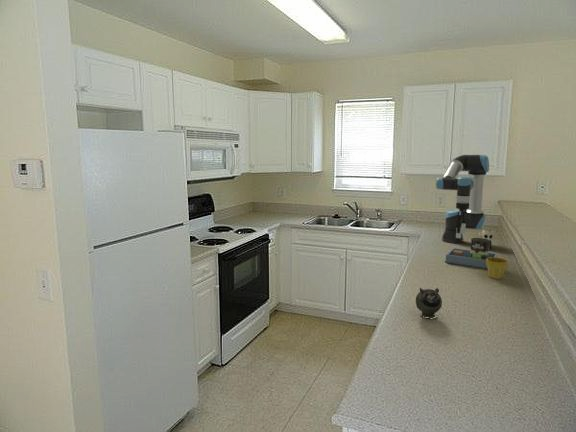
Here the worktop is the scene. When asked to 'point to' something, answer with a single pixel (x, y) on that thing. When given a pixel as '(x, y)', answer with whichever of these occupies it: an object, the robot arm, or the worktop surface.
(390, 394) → the worktop surface
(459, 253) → the brown wooden cube
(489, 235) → the character mug
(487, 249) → the coffee can
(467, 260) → the tote
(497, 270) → the plant pot
